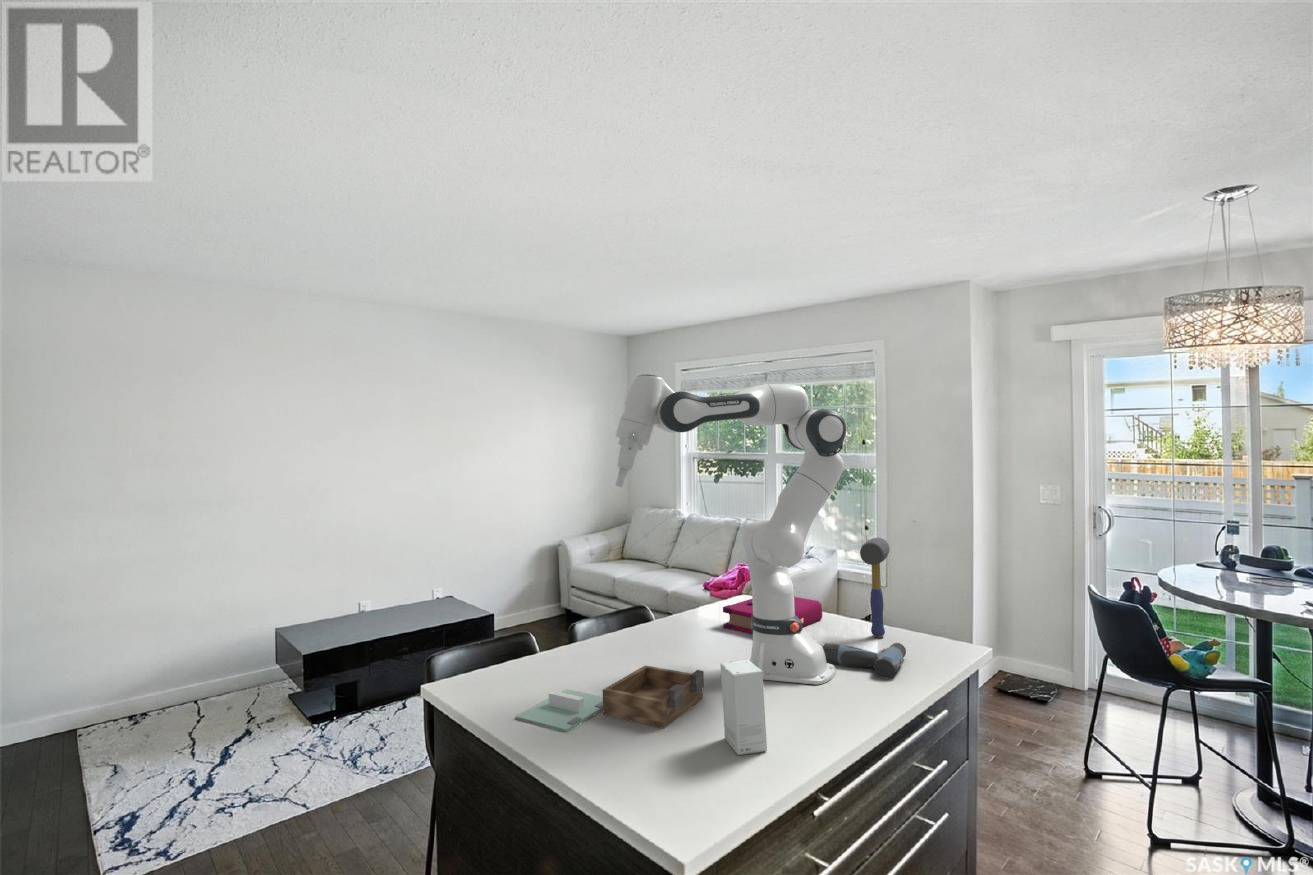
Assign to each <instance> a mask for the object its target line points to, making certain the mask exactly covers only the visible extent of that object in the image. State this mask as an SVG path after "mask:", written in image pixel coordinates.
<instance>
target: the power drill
mask: <svg viewBox="0 0 1313 875" xmlns="http://www.w3.org/2000/svg"><path fill="white" fill-rule="evenodd" d="M822 648H823V650H824V653H825V657H826V662H827V663H828V664H832V665H839V666H845V667H852V668H866V667H873V670H874V672H875V673H876V675H877V676H878V677H880V678H883V679H891V678H892V677H893V676H894V675H895V674H896V673H897V671H898V670H899V668H900V667H901V665H902V664H903V662H904V657H905V656H906V653H907V649H906V647H905V646H904V645H903V644H902V643H900V642H893V643H892V644H891V645H890V646H889V647H886V648H883V649H882V650H879V651H878V652H874V651H871V650H867V649H863V648H860V647H855V646H852V645H846V644H837V643H828V642H827V643H824V644H823V645H822Z"/></svg>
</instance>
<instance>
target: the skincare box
mask: <svg viewBox="0 0 1313 875" xmlns="http://www.w3.org/2000/svg"><path fill="white" fill-rule="evenodd" d="M720 678H721V679H720V681H721V693H722V695H721V697H722V711H723V714H722V715H723V727H724V739H725V741H726V742H727V743H728V745H729V746H730V747H731V748H732V750H733V751H734V753H736V755H737V756H742V755H749V754H757V753H763V752H766V751H768V739H767V728H766V727H767V726H766V709H765V695H764V694H765V692H764V691H765V690H764V679H763V671H761V670H760V669H759V668H758V667H756V666H755V665H754V664H753V663H752V662H750V659H743V660H736V661H735V660H734V661H730V662H721V663H720Z"/></svg>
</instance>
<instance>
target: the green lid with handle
mask: <svg viewBox="0 0 1313 875" xmlns="http://www.w3.org/2000/svg"><path fill="white" fill-rule="evenodd" d="M601 710H602V711H603V696H601V695H595V694H592V693H586V692H581V691H578V690H572V689H568V688H566V689H564V690H562V691H556V690H552V691H551V692H548V698H547V699H545V700H543V701H541V702H539V703H538V704H536V705H533V706H531V707H530V708H528V709H526V710H524V711H523V712H521V713H519V714H517V715H515V720H519V721H523V722H527V723H530V724H533V723H534V725H538V726H542V727H545V728H549V729H552V728H553V729H552V730H557V731H561V732H564V733H568V732H569V731H570V732H571V730H573V729H575V728H577V727H578V726H579V725H581V724H582V723H584V722H586V721H587V720H590V718H593V717H594V716H595V715H597V714H599V713H600V712H602V711H601ZM599 711H600V712H599ZM598 712H599V713H598ZM594 714H595V715H594ZM593 715H594V716H593ZM580 723H581V724H580ZM572 728H573V729H572Z"/></svg>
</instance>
